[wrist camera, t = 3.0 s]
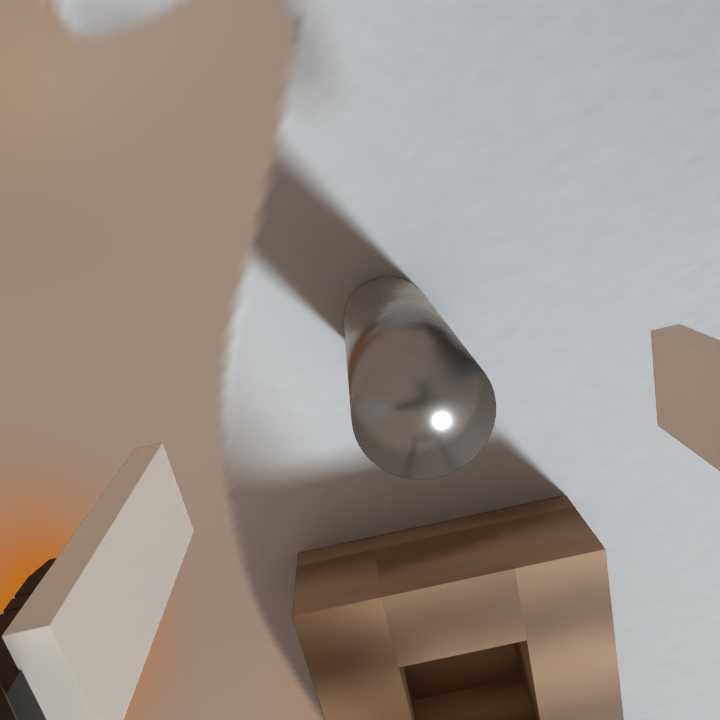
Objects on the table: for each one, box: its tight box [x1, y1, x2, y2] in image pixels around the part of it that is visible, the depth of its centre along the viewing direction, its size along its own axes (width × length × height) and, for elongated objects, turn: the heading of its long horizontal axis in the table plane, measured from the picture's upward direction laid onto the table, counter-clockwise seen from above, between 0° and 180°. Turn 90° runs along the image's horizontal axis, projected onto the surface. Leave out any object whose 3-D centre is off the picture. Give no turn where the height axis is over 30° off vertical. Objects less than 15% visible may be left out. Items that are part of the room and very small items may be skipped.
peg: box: [344, 276, 496, 479], centre depth 21 cm, size 4×4×11 cm
